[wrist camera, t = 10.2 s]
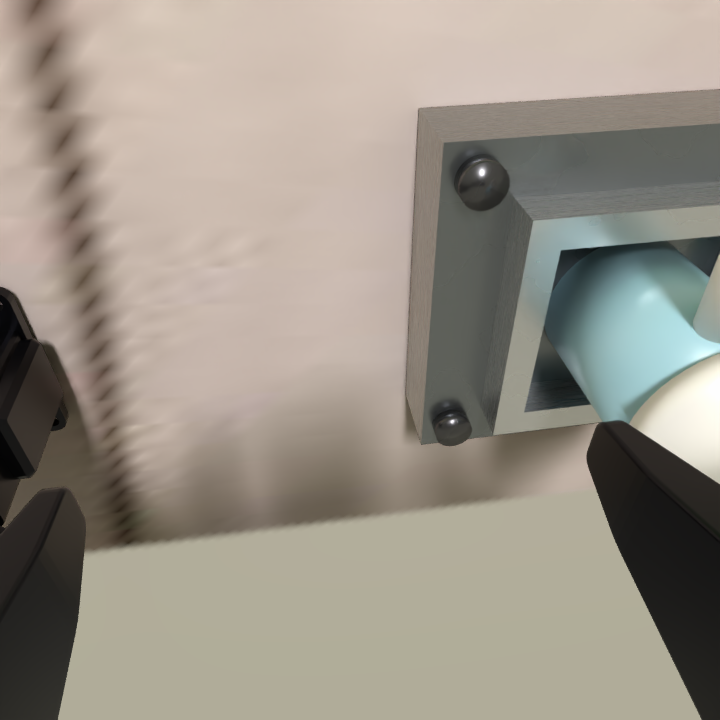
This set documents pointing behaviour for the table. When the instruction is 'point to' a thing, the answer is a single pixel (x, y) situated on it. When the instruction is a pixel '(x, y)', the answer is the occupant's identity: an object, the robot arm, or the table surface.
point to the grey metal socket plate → (539, 241)
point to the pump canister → (645, 344)
